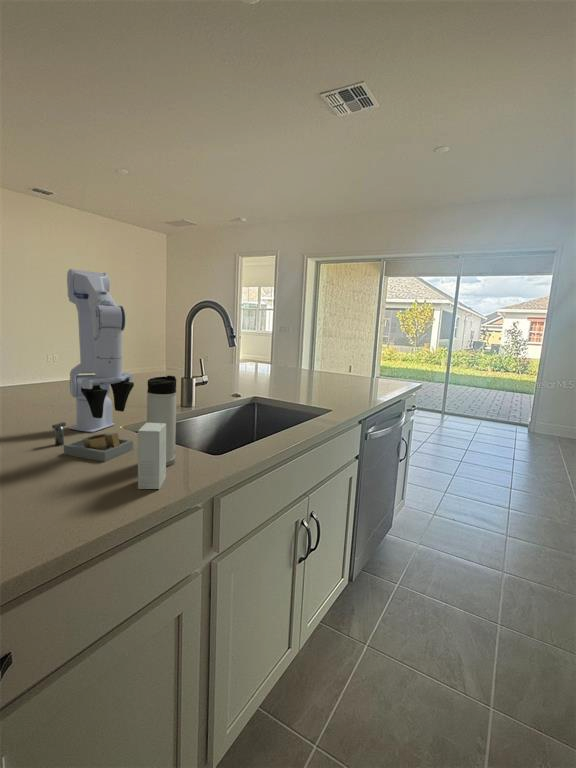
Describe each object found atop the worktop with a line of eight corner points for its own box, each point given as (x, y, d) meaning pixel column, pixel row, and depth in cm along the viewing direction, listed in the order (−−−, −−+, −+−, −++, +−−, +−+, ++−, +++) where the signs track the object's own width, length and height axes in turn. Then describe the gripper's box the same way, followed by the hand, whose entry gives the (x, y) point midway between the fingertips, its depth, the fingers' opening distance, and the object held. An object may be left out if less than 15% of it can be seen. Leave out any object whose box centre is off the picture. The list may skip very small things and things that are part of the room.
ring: (100, 443, 99) (98, 431, 99) (126, 442, 96) (124, 430, 96) (78, 450, 93) (76, 438, 93) (106, 450, 90) (104, 437, 90)
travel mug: (181, 460, 93) (183, 377, 90) (161, 469, 87) (163, 380, 84) (161, 455, 96) (162, 374, 92) (140, 463, 90) (141, 376, 86)
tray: (95, 442, 102) (95, 434, 101) (133, 448, 99) (133, 440, 99) (64, 454, 92) (63, 445, 92) (105, 461, 89) (104, 452, 89)
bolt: (61, 442, 100) (61, 422, 100) (67, 443, 100) (67, 422, 99) (51, 445, 97) (50, 424, 96) (57, 446, 97) (56, 425, 96)
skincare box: (145, 477, 82) (145, 422, 80) (166, 478, 83) (167, 422, 81) (136, 490, 76) (137, 430, 74) (159, 490, 77) (160, 431, 75)
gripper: (100, 361, 84) (101, 423, 86) (142, 356, 98) (142, 410, 100) (73, 358, 86) (74, 419, 88) (118, 354, 100) (118, 406, 102)
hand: (108, 414), depth 94 cm, fingers open, 7 cm apart
